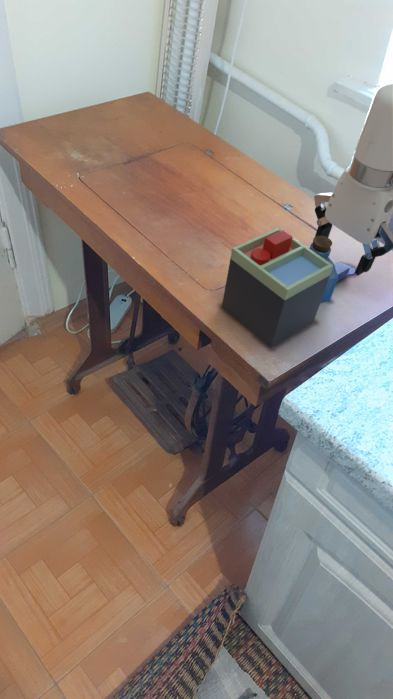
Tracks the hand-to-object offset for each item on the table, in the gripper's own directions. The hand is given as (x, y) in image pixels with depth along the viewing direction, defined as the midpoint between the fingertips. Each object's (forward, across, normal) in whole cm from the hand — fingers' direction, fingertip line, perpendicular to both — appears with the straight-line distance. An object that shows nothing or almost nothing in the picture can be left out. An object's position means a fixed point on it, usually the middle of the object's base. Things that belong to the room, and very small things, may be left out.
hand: (339, 257), depth 97 cm
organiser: (-6, 0, +18) cm, 19 cm away
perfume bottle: (+6, 0, +8) cm, 10 cm away
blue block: (+5, 0, -2) cm, 6 cm away
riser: (+6, 0, +18) cm, 19 cm away
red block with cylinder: (-6, +3, +18) cm, 19 cm away
